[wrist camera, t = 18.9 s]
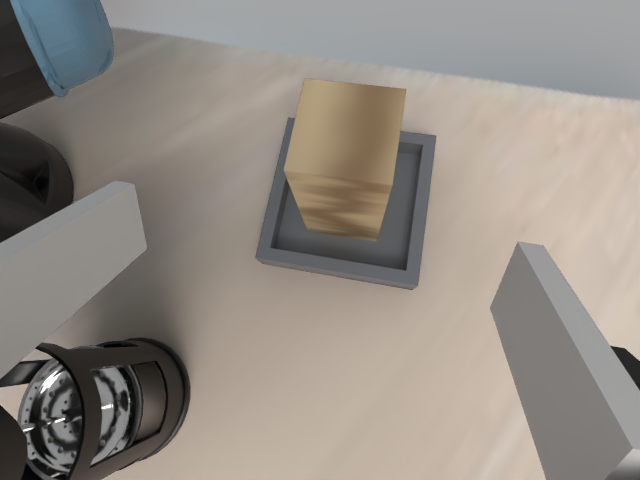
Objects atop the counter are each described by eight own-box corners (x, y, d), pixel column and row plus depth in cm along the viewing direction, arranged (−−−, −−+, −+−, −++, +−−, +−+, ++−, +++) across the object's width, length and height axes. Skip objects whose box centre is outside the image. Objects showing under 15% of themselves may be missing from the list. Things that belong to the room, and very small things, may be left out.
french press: (137, 309, 32) (-352, 245, 10) (218, 376, 30) (-161, 491, 8) (42, 428, 30) (-847, 693, 8) (122, 509, 28) (-762, 1179, 6)
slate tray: (262, 263, 32) (255, 257, 30) (292, 132, 35) (288, 117, 33) (412, 289, 30) (417, 285, 28) (430, 150, 33) (436, 135, 31)
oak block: (307, 230, 32) (283, 170, 20) (320, 168, 33) (304, 78, 22) (376, 241, 31) (392, 185, 19) (386, 177, 32) (406, 89, 21)
